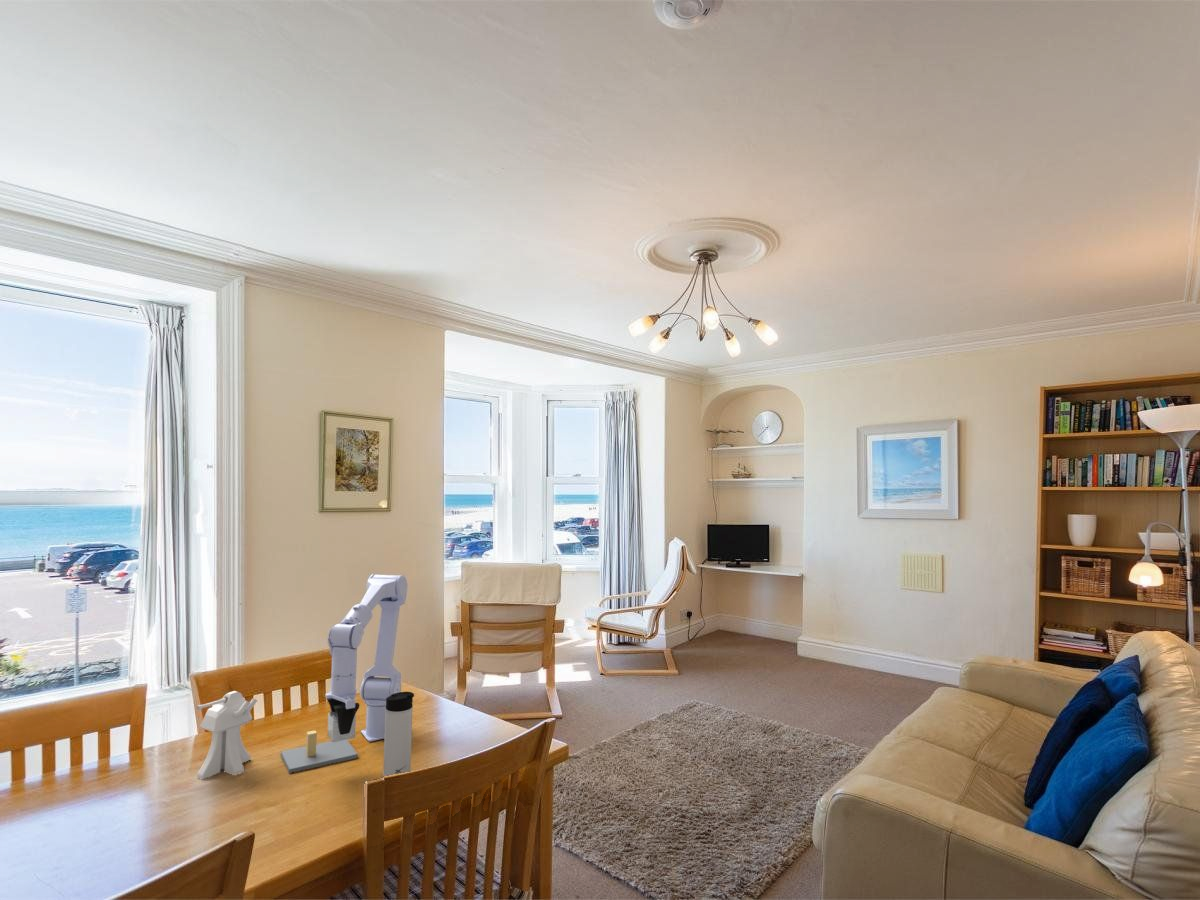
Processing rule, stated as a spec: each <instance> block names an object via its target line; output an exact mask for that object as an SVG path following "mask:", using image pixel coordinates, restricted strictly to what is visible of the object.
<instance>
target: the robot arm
mask: <svg viewBox="0 0 1200 900" xmlns="http://www.w3.org/2000/svg"><path fill="white" fill-rule="evenodd" d="M408 584H409V583H408V581H407V578H406V576H405V575H404V574H400V575H398V574H397V575H396V574H394V575H393V574H377V573H372V574H370V576H369V577H368V579H367V581H366V593H365V594H364V596H363V597H362V599H361V600H360V603H358V604H357V603H356V604H354V605H353V606H352V607H351V609H350V610H349V611H348V612H347V613H346V615H345V616H344V618H343V619H342V620H341V622H339V623H337V624H335V625H333V626H332V627H330V630H329V633H328V637H327V644H328V647H329V655H331V673H330V675H331V677H330V679H331V680H330V691H329V692H326V693H325V694H324V695H325V696H324V697H325V698H326V701H327V702H328V705H329V708H330V712H334V711H336V714H337V717H338V724H339V731H340V734H341V735H343V734H348V733H350V730H351V726H352V722H353V719H354V716H355V714H357V712H358V710H359V708H360V703H359V702H356V696H357V689H356V688H357V667H358V666H357V663H358V662H357V661H358V660H357V659H358V648H359V646H360V645H361V643H362V640H363V636H364V634H365V631H364V630H365V629H366V627H367V626H368V624H369V622H371V620H372V617H373V612H372V611H373V610H374V609H375V608H376V607H377V606H378V605H379V607H380V609H381V611H380V620H379V626H378V635H377V642H376V649H375V655H374V656H375V657H374V664H373V666H371V667H370V668H369V669H367V670H366V671H365V672H364V674H363V678H362V682H361V685H360V689H359V695H360V697H361V700H362V701H364V705H366V717H365V718H366V719H365V720H366V721H365V723H366V724H365V729H362V730H360V733H361V734H362V735H363V737H365V740H366V741H368V742H369V743H370V742H375V741H378V740H379V741H380V740H383V739H384V737H385V711H386V710H385V709H386V698H387V697H389V696H391V695H392V694H395V693H399V692H402V674H401V672H400V671H399V670H398V669H397V668H396V667H395V666H394V654H395V647H396V639H397V632H398V623H399V616H400V608H401V606H403V605H405V604H406V600H407V593H408Z"/></svg>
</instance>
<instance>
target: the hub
mask: <svg viewBox="0 0 1200 900" xmlns="http://www.w3.org/2000/svg"><path fill="white" fill-rule="evenodd" d="M356 714H357V713H356ZM356 714H355V716H354V719H353V722H352V726H351V730H350V733H348V734H343V735H341V734H340V731H339V724H338V717H337V714H336V711H334V712H331V711H329V712H328V713H327V735H326V736H328V739H330V740H329V741H332V742H338V741H342V740H350V739H355V738H356V725H357V724H356V721H357V715H356Z"/></svg>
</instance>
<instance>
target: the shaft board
mask: <svg viewBox="0 0 1200 900" xmlns="http://www.w3.org/2000/svg"><path fill="white" fill-rule="evenodd" d="M317 735H318V733H317V731H316V730H311V731H310V730H309V731H306V736H305V737H306V739H305V741H306V742H305V746H301V747H300V746H299V747H294V748H291V749H290V748H289V749H285V750H281V751H280V757H281V760H282V762H283V764H284V763H285V764H284V765H286V766H285V767H287V768H286V770H287V773H288V774H293V773H292V772H294V773H298V772H302V771H306V770H305V769H307V770H310V769H309V768H311V769H315V768H314V767H316V768H318V766H320V767H323V766H322V765H324V766H328V765H327V764H329V765H332V763H333V764H337V763H336V762H338V763H342V762H345V761H350V760H354V759H358V758H359V757H358V755H359V754H358V751H356V750H355V748H354V746H352V744H351V743H350V741H349V739H347V740H342V741H338V742H332V741H331V740H329V741H324V742H319V743H317V739H318V738H317V737H318V736H317ZM341 761H342V762H341ZM301 770H302V771H301ZM297 771H298V772H297Z"/></svg>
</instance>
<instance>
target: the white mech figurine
mask: <svg viewBox="0 0 1200 900" xmlns="http://www.w3.org/2000/svg"><path fill="white" fill-rule="evenodd" d="M257 702H258V700H257V699H255V698H251V700H250V701H247V700H246V699H245V697H243V694H242V692H239V691H236V690H233V691H230V692H227V693H225V694H224V695H223V696H222V698H220V699H218V700H215V701H212V702H208V703H204V704H198V705H197V706H196V709H197V710H202V709H204V708H205V709H206V708H207V710H206V713H205V714H204V717H203V719H202V721H201V723H200V725H199V727H200V728H201V729H203V730H206V731H208V732H211V733H212V734H211V735H212V736H211V743H210V746H209V749H208V752H207V754H206V757H205V760H204V762H203V763H202V765H201V767H200V768H199V770H198V772H197V775H196V777H198V779H199V778H201V779H200V780H205V779H207V778H206V777H208V776H210V777H212V776H211V775H213V774H215V775H217V774H216V773H218V772H220V773H225V772H227V773H226V774H228V773H229V775H231V774H233V775H237V774H239V773H242V772H243V773H244V772H245V768H244V765H243V764H244V763H243V762H245V761H248V760H250V759H252V758H251V757H252V756H251V754H250V753H249V752H248V751H247V749H246V748H245V746H244V744H243V740H242V738H241V726H243V725H246V724H249V723H250V722H251V720H252V719H253V716H252V713H251V711H252V709H253V708H254V706H255V705H256V703H257ZM211 706H212V707H211ZM208 707H209V708H208ZM250 761H251V760H250ZM248 762H249V761H248ZM242 763H243V764H242ZM245 763H246V762H245ZM224 771H225V772H224ZM243 773H242V774H243ZM218 774H219V773H218ZM233 775H232V776H233ZM239 775H240V774H239ZM213 776H214V775H213ZM237 776H238V775H237ZM204 778H205V779H204ZM208 778H209V777H208Z"/></svg>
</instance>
